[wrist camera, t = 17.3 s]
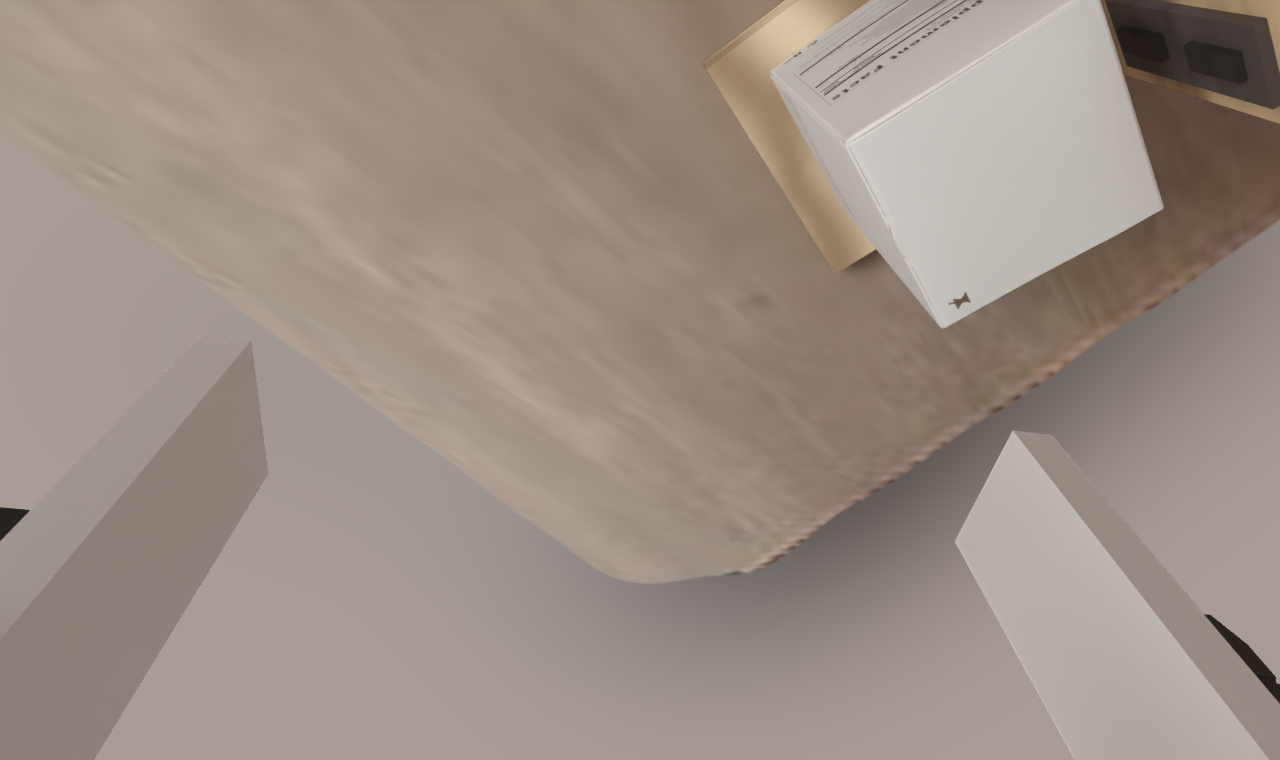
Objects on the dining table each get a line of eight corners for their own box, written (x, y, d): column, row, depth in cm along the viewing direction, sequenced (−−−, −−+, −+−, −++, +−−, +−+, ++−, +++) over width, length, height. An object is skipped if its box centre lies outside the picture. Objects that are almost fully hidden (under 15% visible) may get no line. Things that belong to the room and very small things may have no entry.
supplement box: (994, 118, 40) (1175, 214, 27) (841, 210, 42) (941, 339, 29) (928, -46, 35) (1107, -23, 23) (763, 68, 38) (841, 146, 25)
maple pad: (827, 260, 46) (835, 274, 44) (702, 62, 39) (706, 69, 38) (1047, 121, 42) (1066, 130, 40) (948, -124, 35) (965, -125, 34)
